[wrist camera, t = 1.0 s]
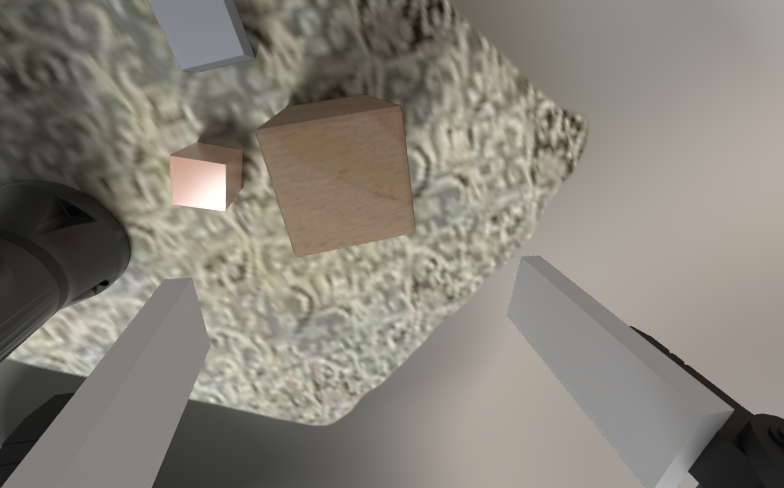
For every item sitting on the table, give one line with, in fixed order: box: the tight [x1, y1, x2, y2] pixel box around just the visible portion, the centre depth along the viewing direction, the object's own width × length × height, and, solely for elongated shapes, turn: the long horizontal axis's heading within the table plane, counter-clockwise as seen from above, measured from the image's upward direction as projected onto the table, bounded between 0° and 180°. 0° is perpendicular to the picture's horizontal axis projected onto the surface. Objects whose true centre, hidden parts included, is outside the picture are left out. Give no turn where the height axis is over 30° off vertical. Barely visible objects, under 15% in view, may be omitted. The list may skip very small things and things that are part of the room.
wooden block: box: [256, 95, 415, 257], centre depth 33 cm, size 10×10×20 cm
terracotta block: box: [169, 142, 243, 211], centre depth 37 cm, size 5×5×8 cm
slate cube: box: [148, 0, 255, 72], centre depth 32 cm, size 6×6×6 cm
